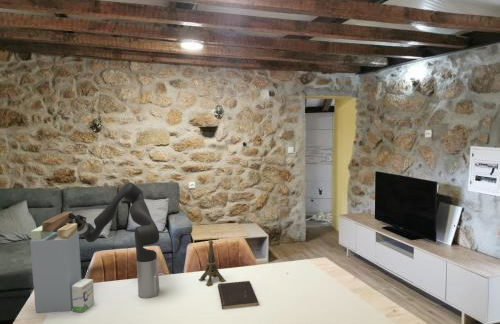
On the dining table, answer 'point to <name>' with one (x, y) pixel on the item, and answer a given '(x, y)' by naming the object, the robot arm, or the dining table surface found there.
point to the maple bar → (67, 231)
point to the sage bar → (39, 234)
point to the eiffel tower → (211, 267)
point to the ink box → (82, 295)
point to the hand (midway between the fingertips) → (64, 214)
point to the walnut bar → (56, 222)
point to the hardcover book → (237, 294)
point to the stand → (55, 272)
